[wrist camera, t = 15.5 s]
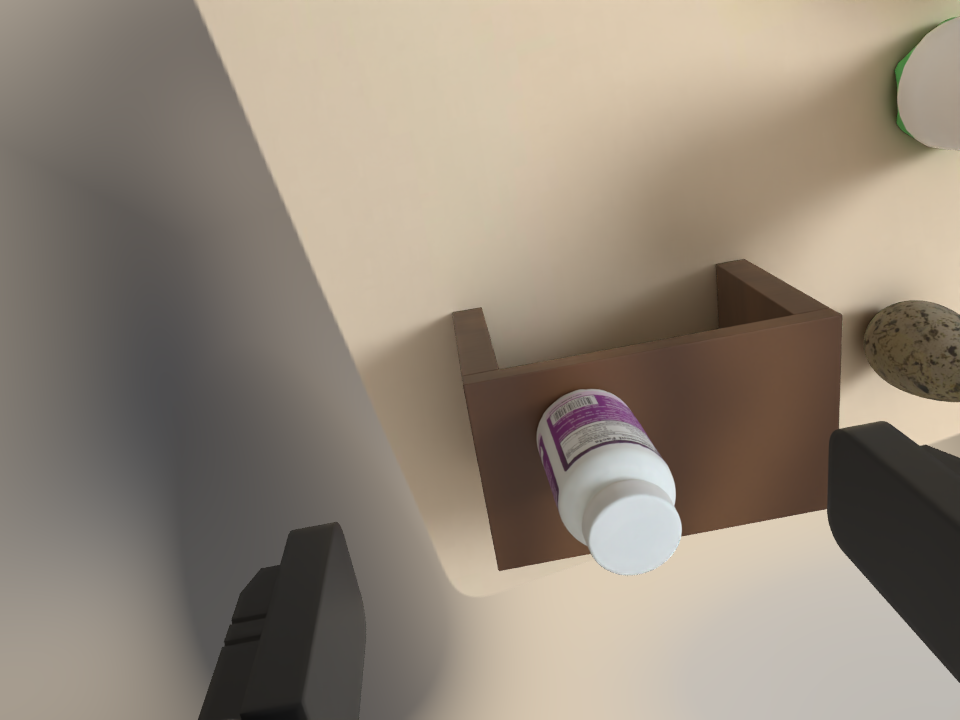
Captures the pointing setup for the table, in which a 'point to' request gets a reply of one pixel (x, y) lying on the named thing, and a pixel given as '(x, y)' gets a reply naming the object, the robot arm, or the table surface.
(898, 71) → the cup
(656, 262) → the table surface
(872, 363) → the decorative egg
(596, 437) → the pill bottle
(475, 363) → the desk shelf
